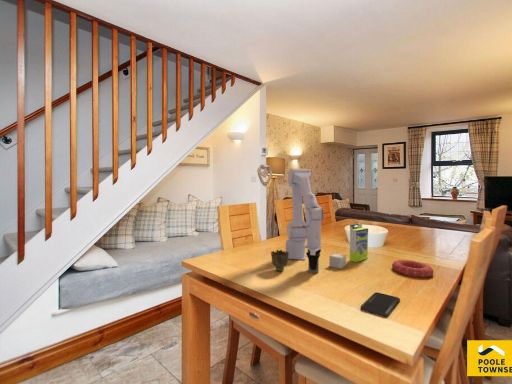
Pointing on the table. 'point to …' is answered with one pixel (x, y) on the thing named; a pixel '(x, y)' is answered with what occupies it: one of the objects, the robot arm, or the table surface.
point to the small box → (337, 261)
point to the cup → (279, 259)
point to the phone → (380, 304)
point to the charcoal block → (314, 270)
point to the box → (358, 242)
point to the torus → (412, 268)
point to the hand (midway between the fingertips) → (313, 267)
